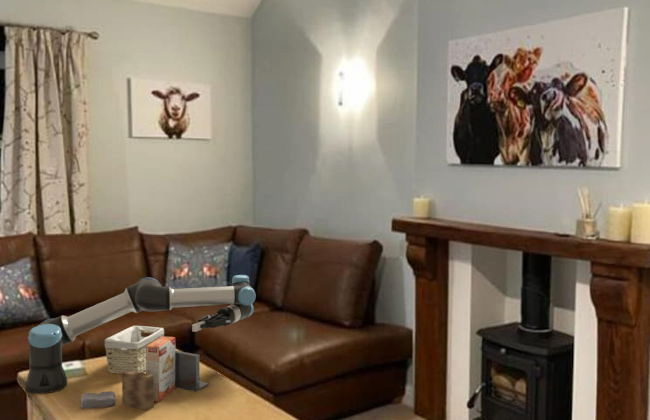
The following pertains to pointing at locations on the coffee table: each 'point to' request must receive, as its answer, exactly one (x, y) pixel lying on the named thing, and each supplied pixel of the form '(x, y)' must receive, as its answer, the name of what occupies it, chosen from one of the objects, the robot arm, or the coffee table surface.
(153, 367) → the cracker box
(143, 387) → the end block
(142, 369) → the storage basket
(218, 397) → the coffee table surface
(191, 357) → the bookend
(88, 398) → the stone block
